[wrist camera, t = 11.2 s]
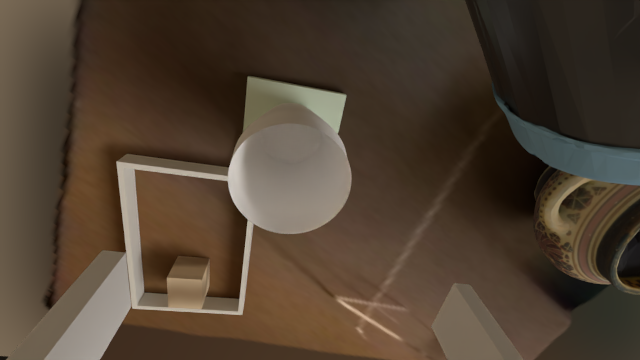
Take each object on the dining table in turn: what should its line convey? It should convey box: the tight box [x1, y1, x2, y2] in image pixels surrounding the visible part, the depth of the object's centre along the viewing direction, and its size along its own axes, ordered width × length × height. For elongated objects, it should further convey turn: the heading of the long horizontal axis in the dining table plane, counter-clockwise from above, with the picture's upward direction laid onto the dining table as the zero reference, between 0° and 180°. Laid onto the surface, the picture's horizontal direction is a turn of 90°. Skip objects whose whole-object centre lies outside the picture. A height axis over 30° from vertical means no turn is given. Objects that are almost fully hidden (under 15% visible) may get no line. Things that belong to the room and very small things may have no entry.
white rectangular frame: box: [116, 154, 253, 315], centre depth 36 cm, size 21×14×2 cm
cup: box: [228, 103, 351, 234], centre depth 26 cm, size 9×9×12 cm
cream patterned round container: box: [533, 166, 640, 295], centre depth 33 cm, size 24×18×15 cm
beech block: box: [167, 256, 210, 309], centre depth 38 cm, size 5×4×4 cm
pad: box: [243, 76, 346, 134], centre depth 32 cm, size 10×10×1 cm
